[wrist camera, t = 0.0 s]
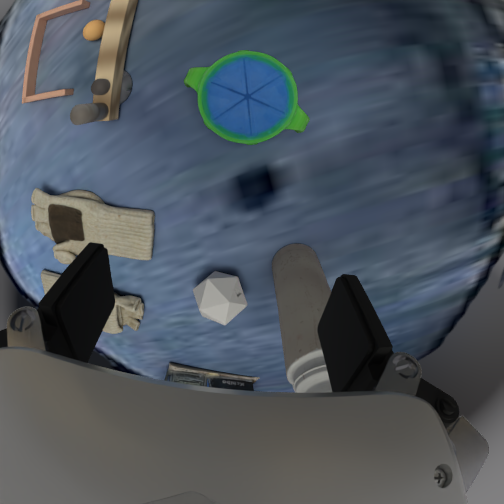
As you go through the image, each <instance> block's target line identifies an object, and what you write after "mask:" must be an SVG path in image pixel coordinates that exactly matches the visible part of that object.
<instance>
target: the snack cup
mask: <svg viewBox="0 0 504 504" xmlns="http://www.w3.org/2000/svg"><path fill="white" fill-rule="evenodd" d="M184 84H185V85H186V86H187V87H192V88H193V89H194V90H195V91H196V92H197V94H198V107H199V111H200V114H201V116H202V118H203V119H204V124H205V125H206V126H207V127H208V129H211V130H212V131H213V132H215V133H216V134H218V135H219V136H220V137H222V138H224V139H226V140H229V141H232V142H236V143H243V144H247V145H253V144H254V145H255V144H258V143H259V142H263V141H266V140H268V139H270V138H272V137H274V136H276V135H277V134H279V133H280V132H281V131H282V130H284V129H291V130H295V131H296V132H297V133H301V132H303V131H304V130H305V128H306V126H307V124H308V122H309V120H310V119H309V117H308V116H307V115H306V114H305V113H304V111H303V110H302V109H301V108H300V107H299V106H298V103H297V102H298V93H297V86H296V83H295V81H294V78H293V77H292V73H291V72H290V70H289V69H288V68H287V67H285V66H284V65H283V64H282V63H281V62H279V61H278V60H277V59H275V58H274V57H272V56H269V55H267V54H264V53H260V52H254V51H248V50H241V51H238V52H236V53H232V54H229V55H227V56H224V57H222V58H221V59H219V60H218V61H216V62H215V63H214V64H213V65H212V66H210V67H195V68H190V69H189V71H188V74H187V75H186V78H185V80H184Z"/></svg>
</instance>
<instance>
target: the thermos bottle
mask: <svg viewBox="0 0 504 504" xmlns="http://www.w3.org/2000/svg"><path fill="white" fill-rule="evenodd" d="M272 272H273V278H274V285H275V292H276V299H277V305H278V312H279V321H280V329H281V336H282V344H283V351H284V359H285V367H286V375H287V379H288V381H289V382H290V383H291V384H292V385H293V388H294V390H295V392H296V393H319V392H332V388H331V384H330V380H329V376H328V372H327V368H326V364H325V360H324V356H323V352H322V348H321V344H320V340H319V336H318V332H317V327H318V324H319V321H320V319H321V316H322V314H323V312H324V309H325V307H326V304H327V302H328V299H329V297H330V294H331V290H330V288H329V285H328V283H327V280H326V277H325V275H324V272H323V270H322V267H321V265H320V262H319V260H318V258H317V255H316V253H315V252H314V250H312V249H311V248H310V247H308V246H306V245H304V244H290V245H287V246H285V247H283V248H282V249H280V250H279V251H278V252H277V253H276V255H275V256H274V258H273V261H272Z"/></svg>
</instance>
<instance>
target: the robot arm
mask: <svg viewBox="0 0 504 504" xmlns="http://www.w3.org/2000/svg"><path fill="white" fill-rule="evenodd" d="M39 306H40V307H39V308H38V309H37V310H36V309H34V308H32V307H22V308H20V309H17V310H16V311H14V312H13V313H12V314H11V315H10V317H9V318H8V321H7V329H4V330H1V331H0V504H468V501H467V496H466V492H467V491H468V489H469V488H470V486H471V485H472V483H473V481H474V480H475V478H476V476H477V475H478V473H479V471H480V469H481V468H482V466H483V464H484V462H485V460H486V459H487V456H488V454H489V445H488V443H487V441H486V439H485V438H484V437H483V436H482V435H481V434H480V433H479V432H478V431H477V430H476V429H475V428H474V427H473V426H472V425H471V424H470V422H469V421H467V419H466V418H465V417H464V416H461V417H459V408H458V405H457V403H456V401H455V400H454V399H453V398H452V397H451V396H450V395H448V394H446V393H445V392H443V391H441V390H440V389H438V388H436V387H435V386H433V385H432V384H430V383H428V382H427V381H425V380H423V379H422V378H421V374H422V373H421V372H422V370H421V366H420V364H419V363H418V361H417V360H416V359H415V358H414V357H413V356H411V355H409V354H407V353H404V352H397V353H393V351H392V347H393V346H392V344H391V342H390V340H389V338H388V336H387V334H386V332H385V330H384V328H383V326H382V324H381V322H380V320H379V318H378V316H377V314H376V312H375V310H374V308H373V306H372V304H371V302H370V300H369V298H368V296H367V294H366V293H365V291H364V289H363V287H362V285H361V283H360V281H359V280H358V278H357V276H355V275H347V274H343V275H341V277H338V278H337V279H336V281H335V284H334V286H333V289H332V292H331V294H330V297H329V299H328V302H327V304H326V307H325V309H324V312H323V314H322V316H321V319H320V321H319V324H318V327H317V332H318V336H319V340H320V344H321V348H322V352H323V356H324V360H325V364H326V368H327V372H328V376H329V380H330V384H331V388H332V392H319V393H287V392H260V391H245V390H232V389H221V388H212V387H204V386H196V385H189V384H182V383H176V382H169V381H164V380H158V379H153V378H147V377H142V376H138V375H133V374H128V373H124V372H120V371H116V370H111V369H107V368H103V367H100V366H96V365H92V364H88V360H89V358H90V356H91V354H92V352H93V349H94V347H95V345H96V343H97V341H98V339H99V337H100V335H101V333H102V331H103V328H104V326H105V324H106V322H107V320H108V318H109V316H110V315H111V313H112V311H113V309H114V306H115V296H114V290H113V284H112V278H111V272H110V264H109V257H108V250H107V248H104V245H103V244H100V243H93V242H90V243H88V245H87V246H86V247H85V248H84V249H83V250H82V251H81V252H80V253H79V255H78V256H77V257H76V258H75V259H74V260H73V261H72V263H71V264H70V265H69V266H68V267H67V268H66V270H65V271H64V272H63V273H62V274H61V276H60V277H59V278H58V279H57V281H56V282H55V283H54V284H53V286H52V287H51V288H50V289H49V291H48V292H47V293H46V295H45V296H44V297H43V298H42V300H41V301H40V302H39Z"/></svg>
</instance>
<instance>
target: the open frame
mask: <svg viewBox="0 0 504 504" xmlns="http://www.w3.org/2000/svg"><path fill="white" fill-rule="evenodd" d="M89 5H90V3H89V2H87V1H85V0H79V1H76V2H73V3H69V4H66V5H63V6H60V7H57V8H55V9H52V10H49V11H46V12H44V13H41V14H39V15H37V16H36V20H35V23H34V27H33V31H32V36H31V40H30V45H29V50H28V56H27V62H26V68H25V76H24V84H23V95H22V103H28V102H33V101H38V100H43V99H49V98H54V97H60V96H67V95H73V91H74V89H63V90H57V91H51V92H46V93H41V94H37V95H35V85H36V77H37V69H38V62H39V56H40V51H41V45H42V40H43V36H44V31H45V27H46V23H47V20H50V19H53V18H56V17H59V16H62V15H65V14H68V13H71V12H75V11H78V10H82V9H86V8H89Z"/></svg>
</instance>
